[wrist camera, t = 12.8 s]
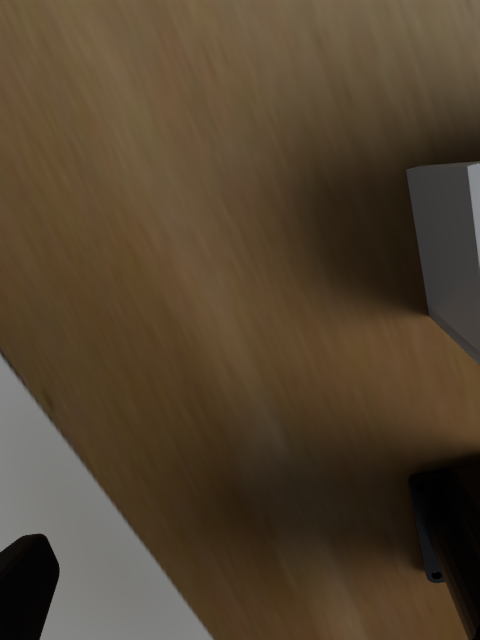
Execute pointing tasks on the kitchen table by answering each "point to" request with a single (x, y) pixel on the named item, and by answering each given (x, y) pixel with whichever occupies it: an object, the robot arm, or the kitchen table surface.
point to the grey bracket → (450, 246)
